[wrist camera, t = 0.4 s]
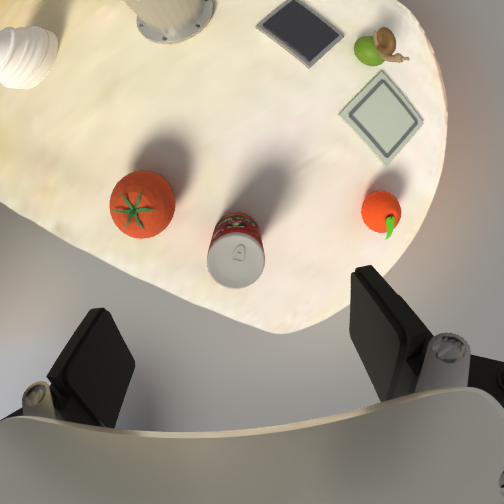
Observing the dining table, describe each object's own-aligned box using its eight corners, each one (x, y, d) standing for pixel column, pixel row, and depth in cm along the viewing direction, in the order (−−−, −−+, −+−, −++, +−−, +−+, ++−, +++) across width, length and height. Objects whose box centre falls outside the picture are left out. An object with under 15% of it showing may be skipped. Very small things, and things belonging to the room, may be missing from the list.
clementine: (389, 227, 47) (408, 241, 40) (356, 233, 47) (373, 249, 41) (388, 185, 44) (409, 193, 37) (353, 189, 44) (371, 199, 38)
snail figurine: (356, 75, 36) (391, 59, 25) (345, 41, 34) (375, 18, 23) (383, 73, 36) (421, 60, 25) (372, 41, 33) (407, 20, 22)
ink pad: (255, 27, 33) (256, 24, 31) (291, -2, 30) (292, -5, 29) (308, 68, 36) (311, 66, 34) (342, 38, 33) (345, 35, 32)
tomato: (181, 227, 45) (167, 251, 36) (125, 226, 45) (101, 248, 36) (181, 166, 41) (165, 174, 32) (122, 168, 41) (94, 177, 32)
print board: (338, 114, 39) (339, 114, 38) (379, 72, 36) (382, 71, 35) (384, 166, 42) (387, 166, 42) (421, 123, 39) (424, 123, 38)
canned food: (260, 211, 45) (266, 234, 35) (259, 256, 48) (264, 289, 38) (212, 211, 45) (204, 233, 35) (214, 256, 48) (207, 289, 38)
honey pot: (7, 86, 31) (-52, 85, 14) (30, 30, 26) (-24, 15, 10) (42, 93, 33) (-24, 90, 17) (68, 32, 29) (11, 8, 12)
